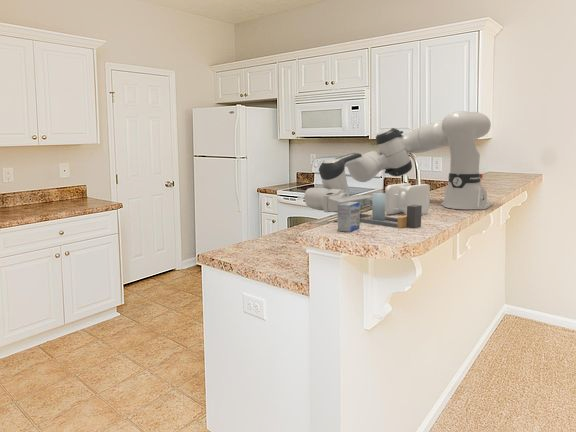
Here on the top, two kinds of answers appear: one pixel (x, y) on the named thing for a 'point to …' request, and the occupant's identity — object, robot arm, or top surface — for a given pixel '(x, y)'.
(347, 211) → the medicine box
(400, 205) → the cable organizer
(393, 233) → the top surface
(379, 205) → the marker sleeve
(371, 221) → the comb channel
